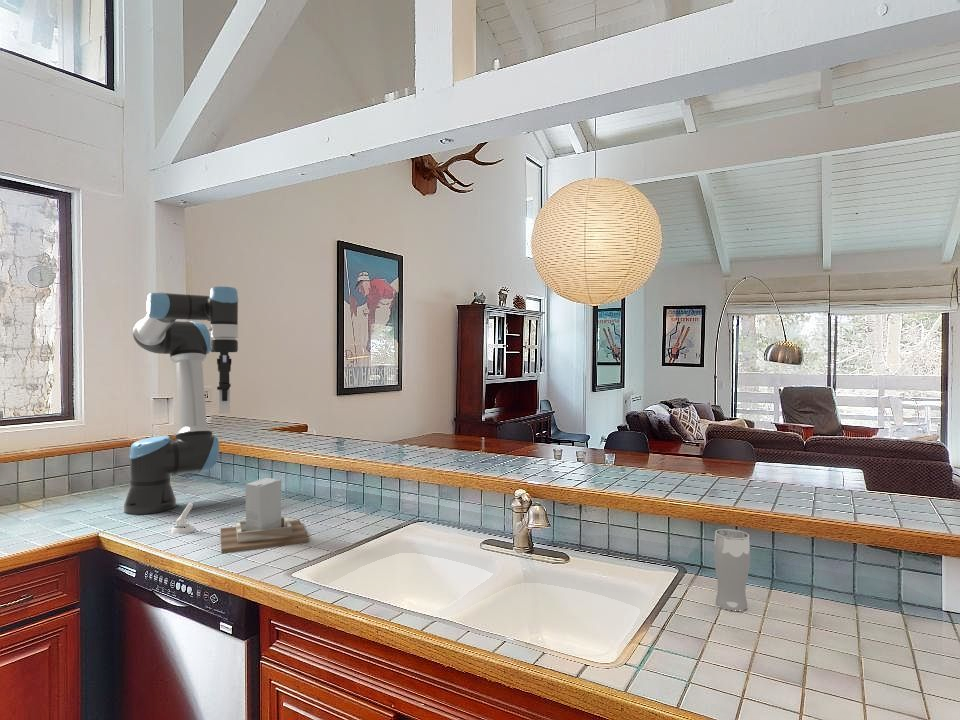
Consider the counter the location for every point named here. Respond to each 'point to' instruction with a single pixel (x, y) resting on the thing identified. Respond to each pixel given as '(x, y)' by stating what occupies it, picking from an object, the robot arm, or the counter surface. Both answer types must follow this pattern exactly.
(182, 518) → the hook
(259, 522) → the skincare box
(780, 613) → the counter surface
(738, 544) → the beer glass
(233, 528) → the holder board
